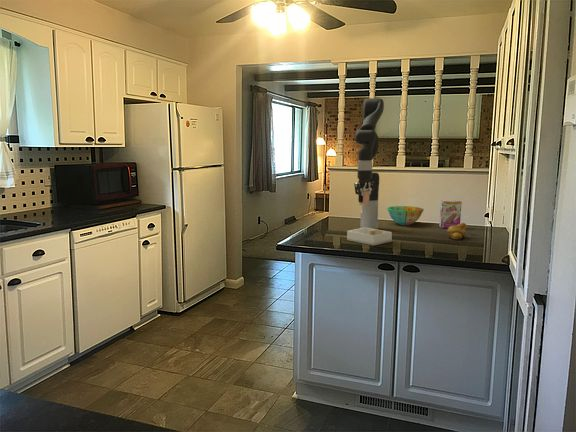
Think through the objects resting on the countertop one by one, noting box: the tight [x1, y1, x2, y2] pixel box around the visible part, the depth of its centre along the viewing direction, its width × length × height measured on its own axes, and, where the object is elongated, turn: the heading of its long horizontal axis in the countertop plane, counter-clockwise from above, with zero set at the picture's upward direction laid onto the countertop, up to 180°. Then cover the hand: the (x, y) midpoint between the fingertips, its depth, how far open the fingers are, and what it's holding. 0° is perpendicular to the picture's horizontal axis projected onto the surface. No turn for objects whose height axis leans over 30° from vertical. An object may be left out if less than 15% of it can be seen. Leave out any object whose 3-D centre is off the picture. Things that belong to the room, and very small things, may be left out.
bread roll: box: [446, 222, 468, 241], centre depth 246 cm, size 13×10×8 cm
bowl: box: [386, 205, 425, 226], centre depth 287 cm, size 22×22×10 cm
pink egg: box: [358, 191, 369, 206], centre depth 239 cm, size 5×5×7 cm
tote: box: [346, 227, 393, 246], centre depth 239 cm, size 18×15×5 cm
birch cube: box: [369, 229, 384, 235], centre depth 236 cm, size 5×5×5 cm
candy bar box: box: [439, 199, 462, 229], centre depth 274 cm, size 11×5×16 cm, turn 84°
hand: (364, 201), depth 240 cm, fingers closed on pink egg, 5 cm apart
